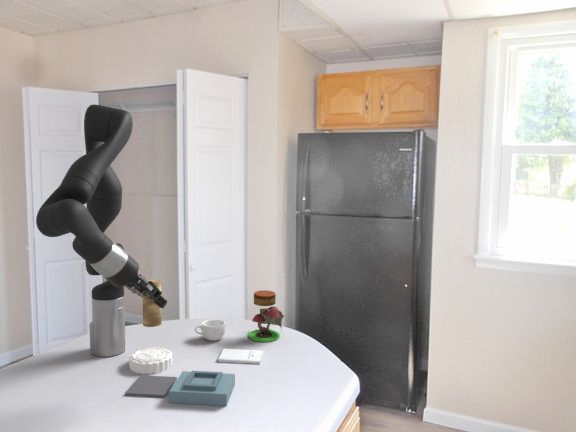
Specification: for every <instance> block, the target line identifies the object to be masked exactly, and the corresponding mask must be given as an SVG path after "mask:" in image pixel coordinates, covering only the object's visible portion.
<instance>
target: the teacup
mask: <svg viewBox="0 0 576 432" xmlns="http://www.w3.org/2000/svg"><path fill="white" fill-rule="evenodd" d="M198 328H199V329H200V330H201V332H199V331H197V329H198ZM194 332H195V333H197V334H198V335H200V336H202V337H204V339H205V340H207V341H210V342H217V341H220V340H221V339H223V337H224V336H225V333H226V321H225V320H222V319H219V318H212V319H211V318H210V319H207V320H206V319H205V320H203V321H202V322H201V325H196V326H195V328H194Z"/></svg>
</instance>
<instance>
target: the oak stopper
mask: <svg viewBox="0 0 576 432" xmlns="http://www.w3.org/2000/svg"><path fill="white" fill-rule="evenodd" d="M146 280H147V281H148V282H149V281H152V282H153V283H154V285H155V286H156V287H157V288H158V289H159V290H160V291H161V292H162V280H160V279H146ZM143 293H144V291H143ZM162 318H163V317H162V308H160V307H159V306H158V305H157V304H155V303H154V302H153V301H151V300H150V299H149V298H148V297H143V298H142V325H143V327H146V328H154V327H160V326H161V325H162V321H163V320H162Z"/></svg>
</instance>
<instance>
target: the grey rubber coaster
mask: <svg viewBox="0 0 576 432" xmlns="http://www.w3.org/2000/svg"><path fill="white" fill-rule="evenodd" d="M177 379H178V377H177V376H168V375H167V376H166V375H165V376H162V375H148V374H140V375H139V377H137V379H136V380H135V381H134V382H133V383H132V384H131V386H130V387H129V388H128V390H126V392H125V393H124V394H125V396H130V397H150V398H166V396H167V395H168V394H169V391H170V389H171V388H172V386H173V385H174V383H175V382H176V380H177Z"/></svg>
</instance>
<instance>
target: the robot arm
mask: <svg viewBox="0 0 576 432" xmlns="http://www.w3.org/2000/svg"><path fill="white" fill-rule="evenodd" d="M133 126H134V123H133V117H132V114H131V112H129V111H127V110H125V109H121V108H116V107H113V106H111V107H110V106H106V105H100V104H95V103H94V104H90V105H89V106H88V107H87V108H86V110H85V113H84V121H83V135H84V145H85V154H83V155H82V156H80V157H78V158H77V159H76V160H75V161H74V162H73V163H72V164H71V165H70V167H69V168H68V170H67V172H66V173H65V175H64V177H63V179H62V181H61V183H60V185H59V186H58V187H57V188H56V189H55V190H54V191H53V192H52V193H51V194H50V195H49V197H47V199H46V200H45V201H44V202H43V204H42V205H41V206H40V208H39V210H38V211H37V215H36V220H35V222H36V223H35V224H36V227H37V229H38V231H39V233H41V234H42V235H43V236H46V237H48V238H57V237H61V236H63V235H68V234H73V236H75V237H74V239H73V241H72V249H73V251H74V252H75V253H76V254H77V255H78V256H80V258H82V259H83V260H84V262H85V270H86V272H87V274H88V275H89V276H101V277H103V278H104V279H105V280H106V281H103V282H102V283H98V284H97V285H95V286H94V287H92V289H91V316H92V318H91V319H92V321H91V322H90V323H89V353H90V355H94V356H97V357H100V358H101V357H103V358H104V357H105V358H108V357H113V356H118V355H120V354H123V353H124V352H126V314H125V312H126V308H125V288H126V289H128V291H130V292H131V293H132V294H136V295H137V296H138V297H141V298H142V299H143V297H148V298H149V299H150V300H151V301H153V302H154V303H155V304H157V305H158V306H159V307H160V308H161V309H164V308H165V307H166V305H167V304H168V300H167V299H165V298H164V296H162V295H163V293H162V290H161V291H160V290H159V289H158V288H157V287H156V286H155V285H154V283H153V282H152V281H149V282H148V281H147V280H148V279H147V278H146V277H145V276H144V275H142V274H141V273H140V274H139V269H140V266H139V265H140V264H139V263H138V262H137V261H136V260H135V259H134V258H133V257H132V256H130V254H128V253H127V252H126V251H125V249H124V246H123V244H122V243H119V242H118V243H117V242H114V241H113V240H112V239H110V238H109V237H108V236H107V234H105V232H106V230H107V229H108V228H110V227H109V226H111V224H112V223H113V222H114V221H115V219H117V217H118V216H119V214H120V212H121V210H122V204H123V201H122V199H123V186H122V184H121V180H120V179H119V177H118V175H117V174H116V172H115V171H114V169H113V168H112V166H111V164H112V163H113V162H114V161H115V160H116V159H117V157H118V155H119V154H120V153H121V152H122V150H123V149H124V148H125V146H126V145H127V143H128V142H129V140H130V138H131V135H132V132H133ZM85 204H86V205H85ZM143 291H144V293H143Z"/></svg>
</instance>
